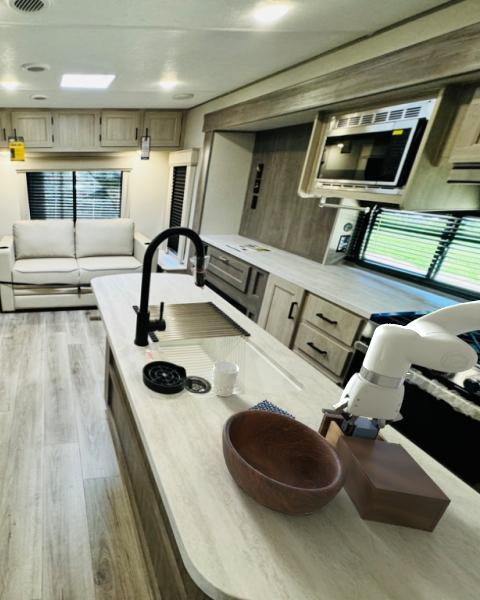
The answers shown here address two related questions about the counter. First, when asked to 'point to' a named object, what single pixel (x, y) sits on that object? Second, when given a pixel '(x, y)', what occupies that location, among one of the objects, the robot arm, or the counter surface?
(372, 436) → the block
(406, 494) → the cabinet
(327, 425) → the drawer
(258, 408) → the woven mat
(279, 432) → the wooden bowl
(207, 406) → the counter surface
